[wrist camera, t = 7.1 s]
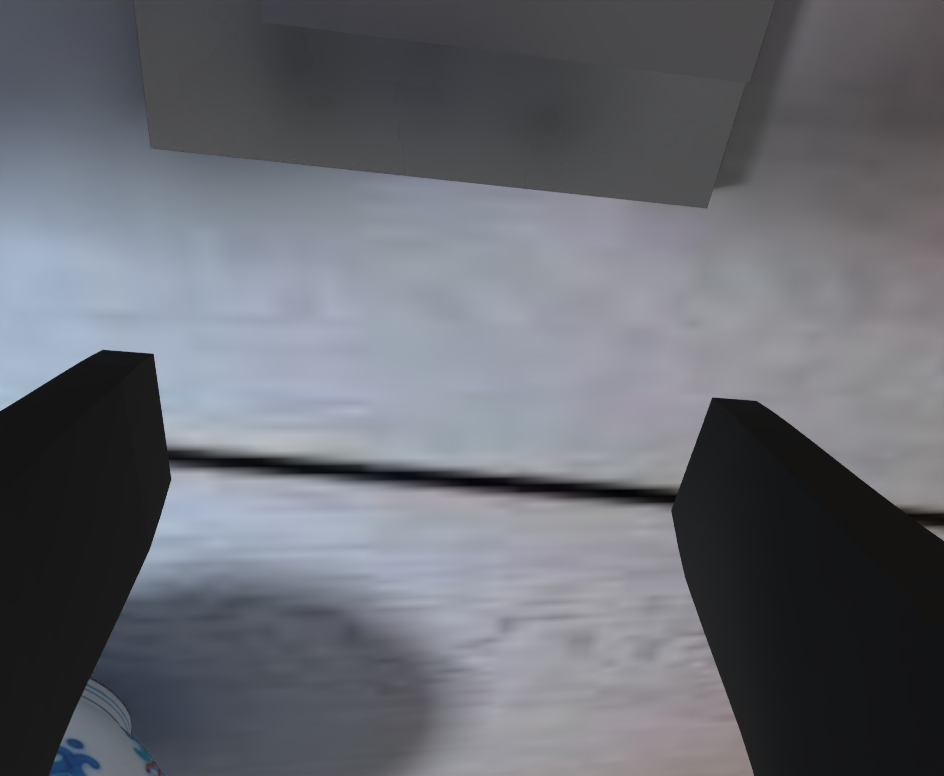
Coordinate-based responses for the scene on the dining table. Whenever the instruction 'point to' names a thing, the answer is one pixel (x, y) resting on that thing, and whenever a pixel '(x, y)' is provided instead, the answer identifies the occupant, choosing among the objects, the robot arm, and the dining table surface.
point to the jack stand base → (426, 107)
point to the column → (561, 29)
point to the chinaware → (101, 740)
